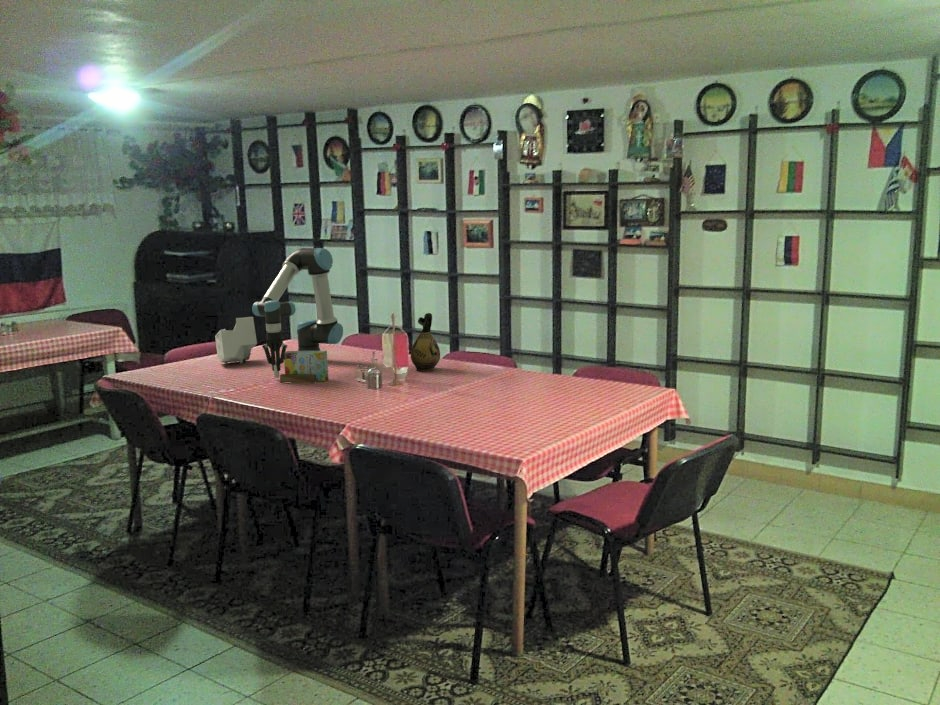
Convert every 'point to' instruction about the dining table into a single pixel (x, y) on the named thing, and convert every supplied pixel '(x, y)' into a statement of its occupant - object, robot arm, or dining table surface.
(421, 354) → the ceramic jug
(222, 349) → the grey stepped block
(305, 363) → the snack box
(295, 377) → the walnut chute
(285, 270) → the robot arm
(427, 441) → the dining table surface
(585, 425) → the dining table surface
